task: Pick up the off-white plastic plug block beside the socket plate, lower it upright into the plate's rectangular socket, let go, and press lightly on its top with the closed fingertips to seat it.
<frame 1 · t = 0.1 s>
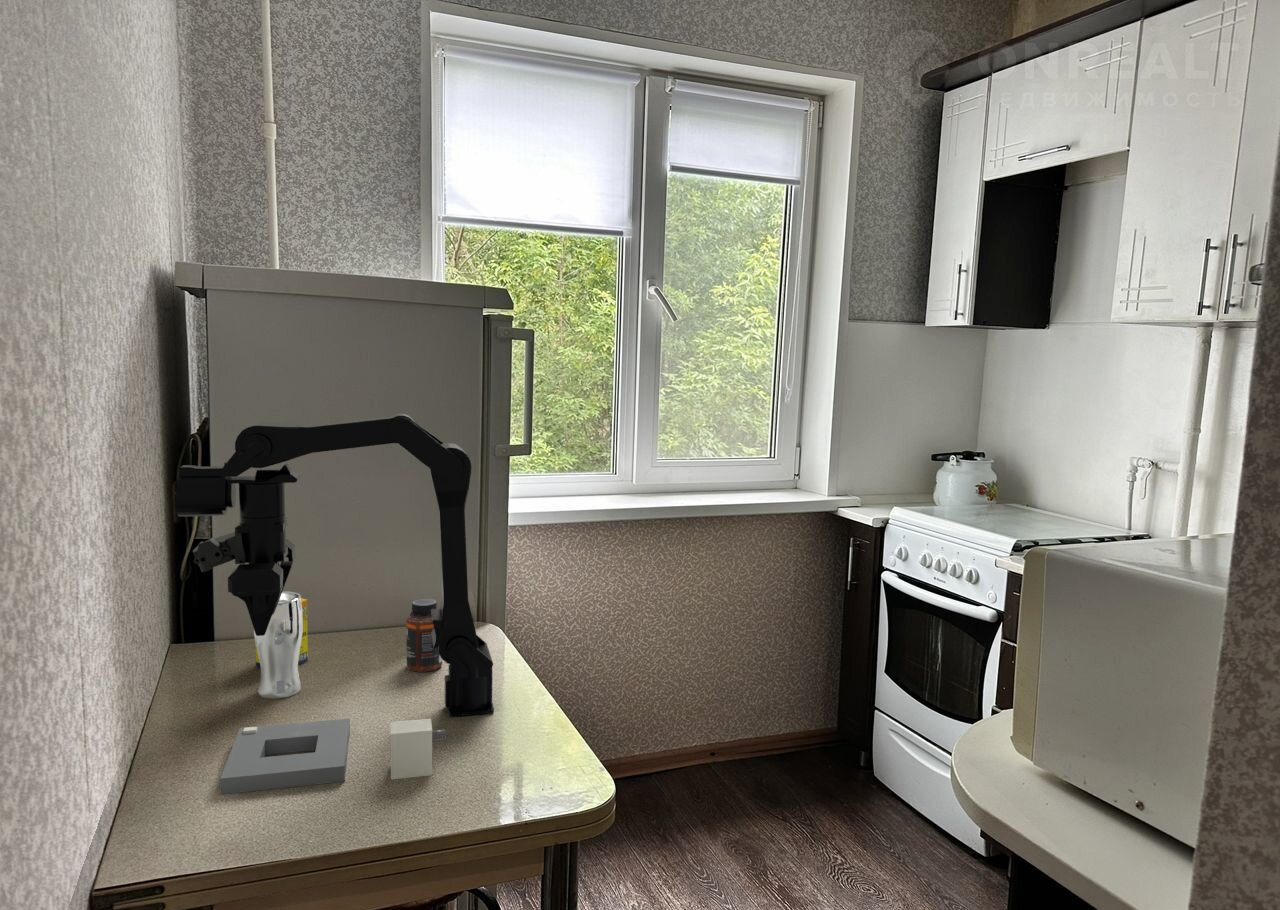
hand: (265, 624, 118), 15 cm above the table, fingers open, 9 cm apart
beer glass: (280, 692, 132), on the table
plug: (411, 770, 108), on the table
supplement box: (282, 665, 143), on the table
socket plate: (290, 760, 110), on the table
supplement bottle: (424, 667, 144), on the table
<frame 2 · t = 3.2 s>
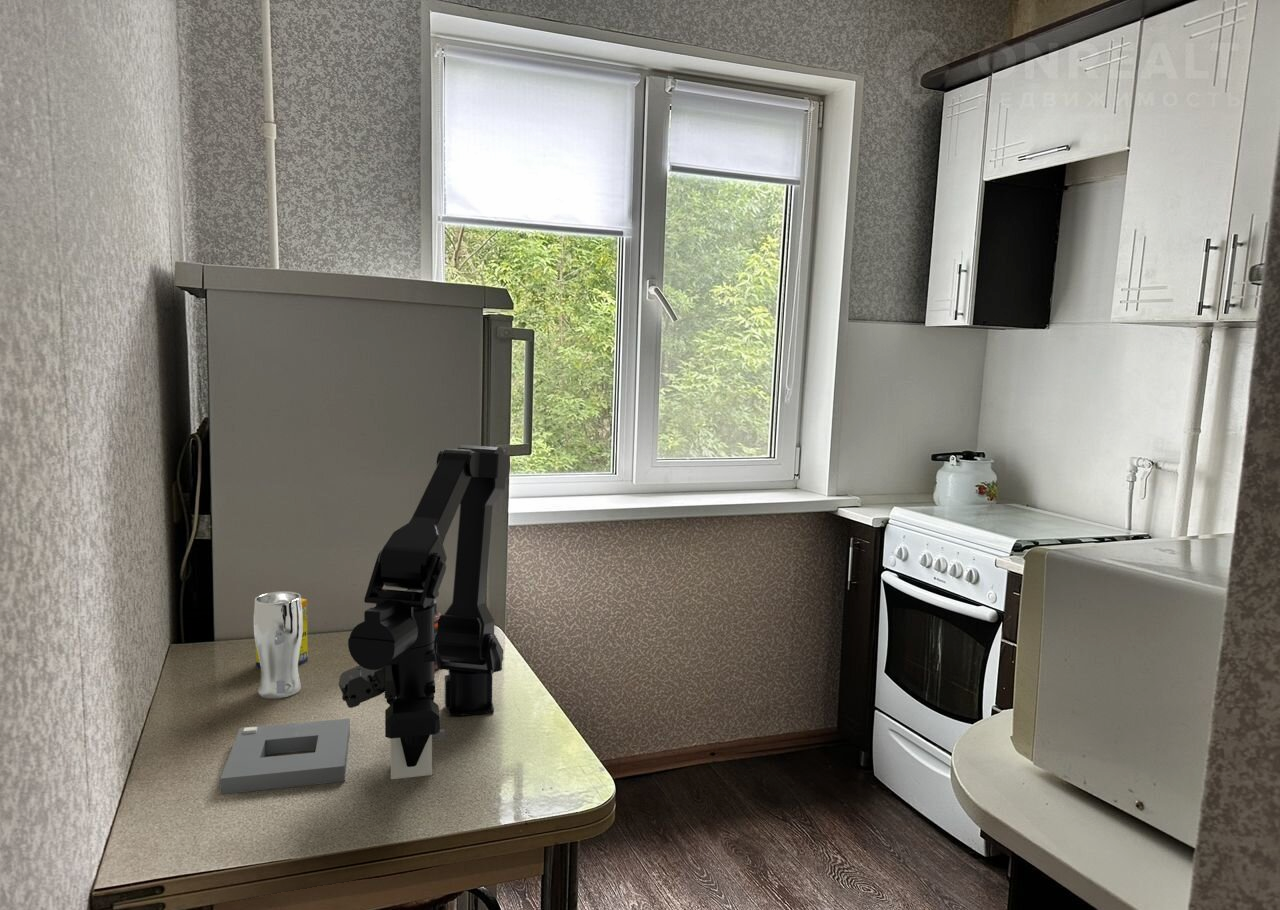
hand: (411, 759, 108), 2 cm above the table, fingers closed on plug, 3 cm apart
plug: (411, 770, 108), on the table, touching gripper
everything else where it was.
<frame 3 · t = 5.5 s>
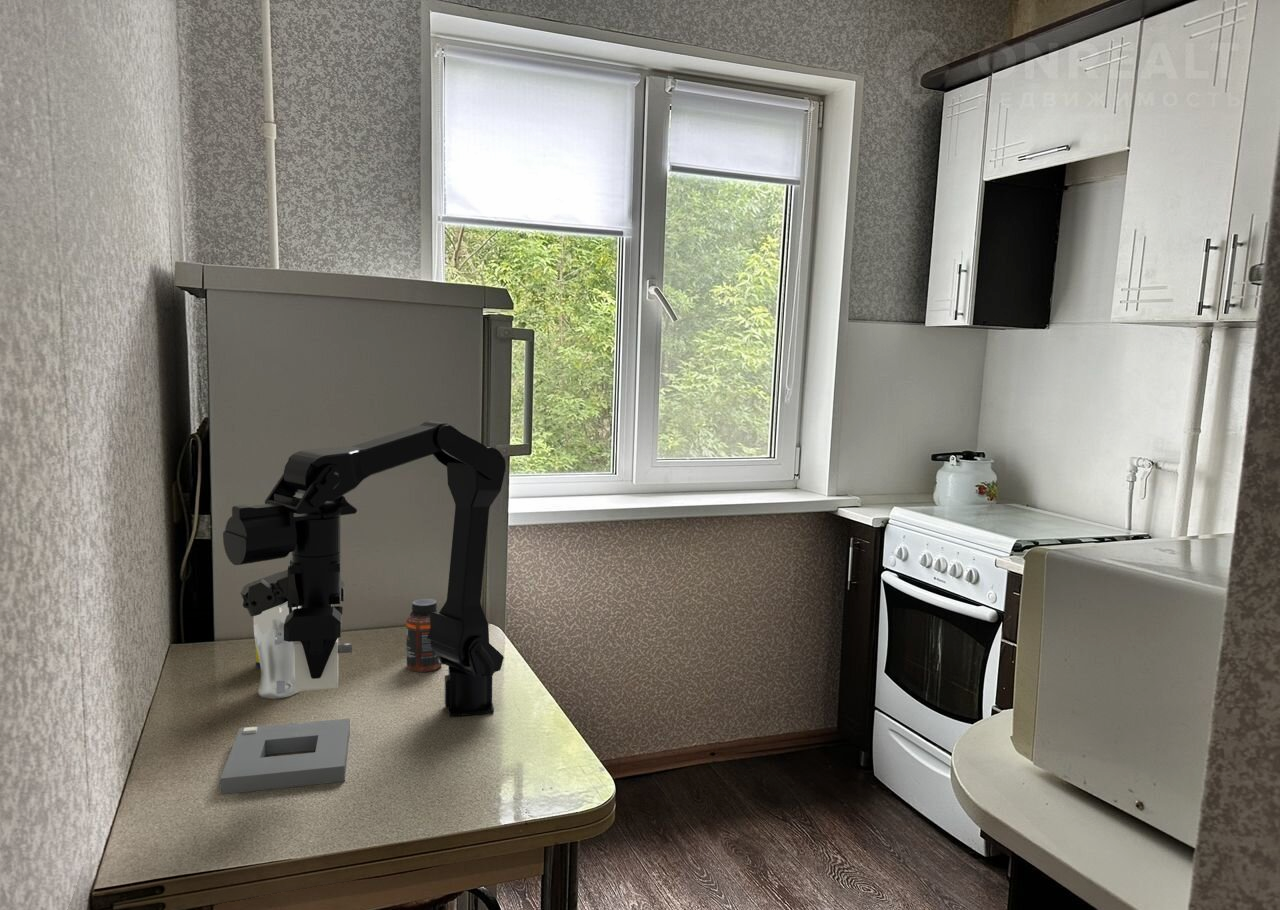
hand: (316, 672, 108), 12 cm above the table, fingers closed on plug, 3 cm apart
plug: (317, 684, 108), point 11 cm above the table, touching gripper
everything else where it was.
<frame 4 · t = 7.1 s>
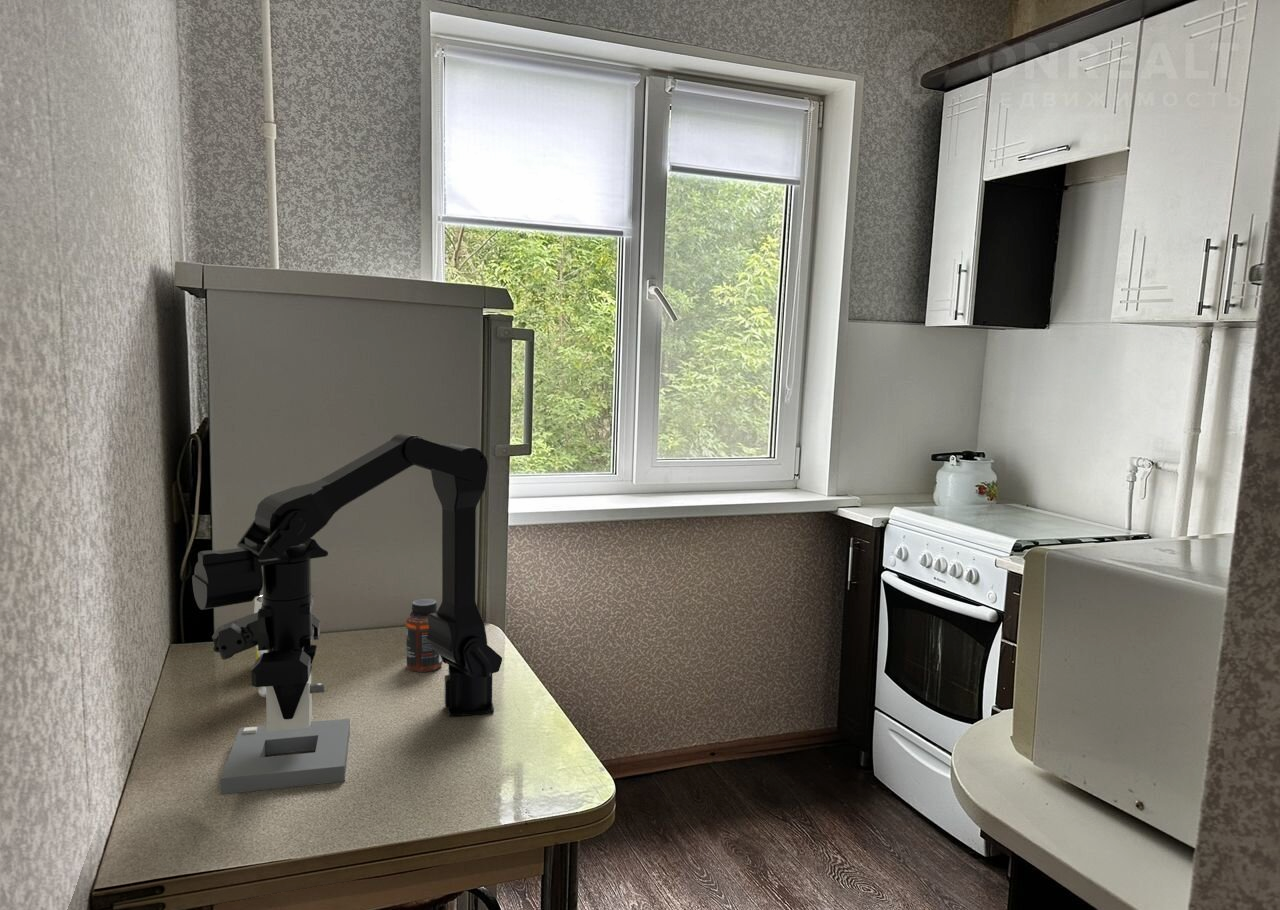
hand: (289, 712, 109), 7 cm above the table, fingers closed on plug, 3 cm apart
plug: (290, 723, 109), point 5 cm above the table, touching gripper
everything else where it was.
when the fingers open (3 cm above the table, at t = 8.2 s): plug drops 2 cm, resting in socket plate.
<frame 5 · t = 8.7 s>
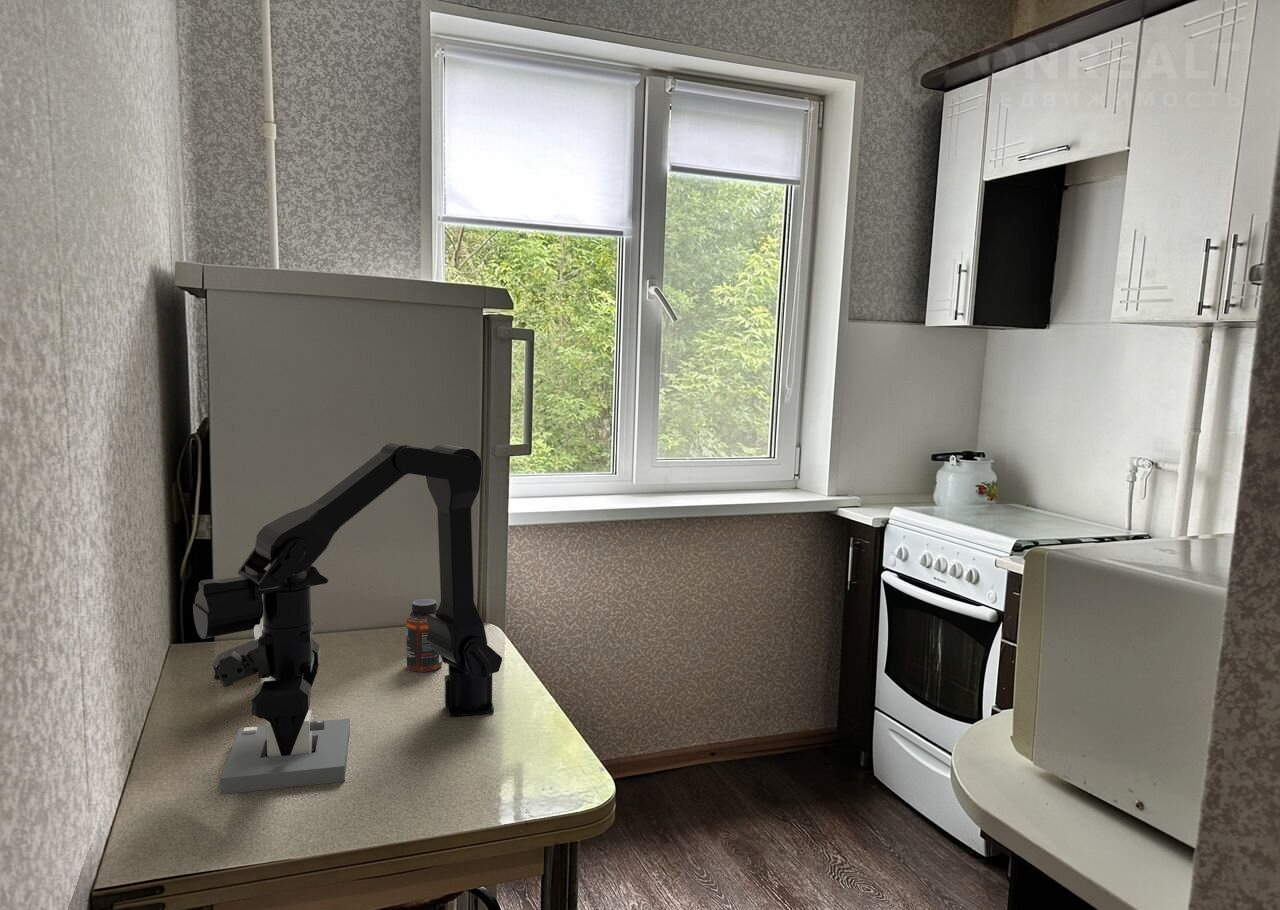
hand: (290, 738, 110), 3 cm above the table, fingers open, 9 cm apart
plug: (290, 761, 110), resting in socket plate
everything else where it was.
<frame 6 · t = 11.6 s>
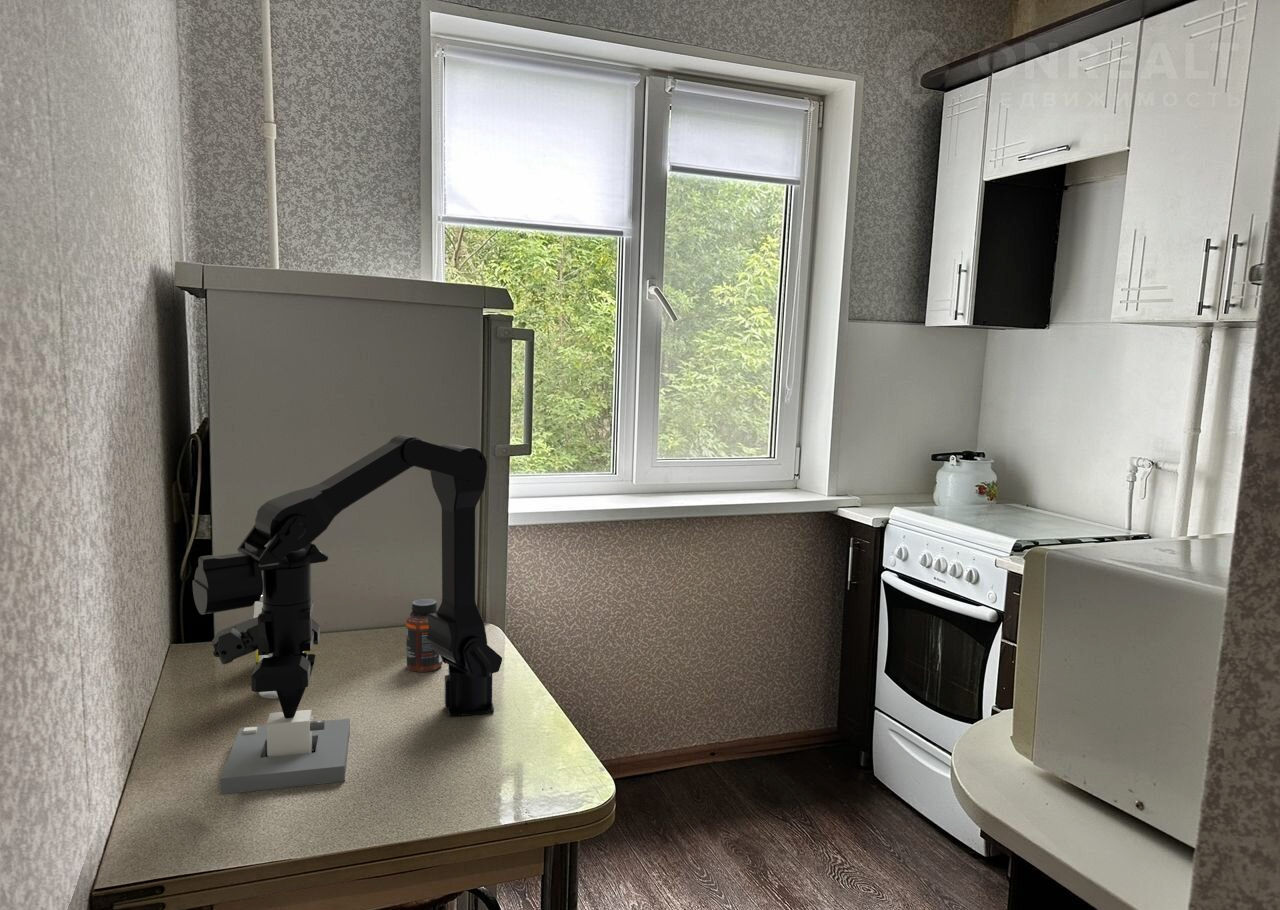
hand: (289, 717, 109), 6 cm above the table, fingers closed, pressing on plug
plug: (290, 761, 110), resting in socket plate, touching gripper
everything else where it was.
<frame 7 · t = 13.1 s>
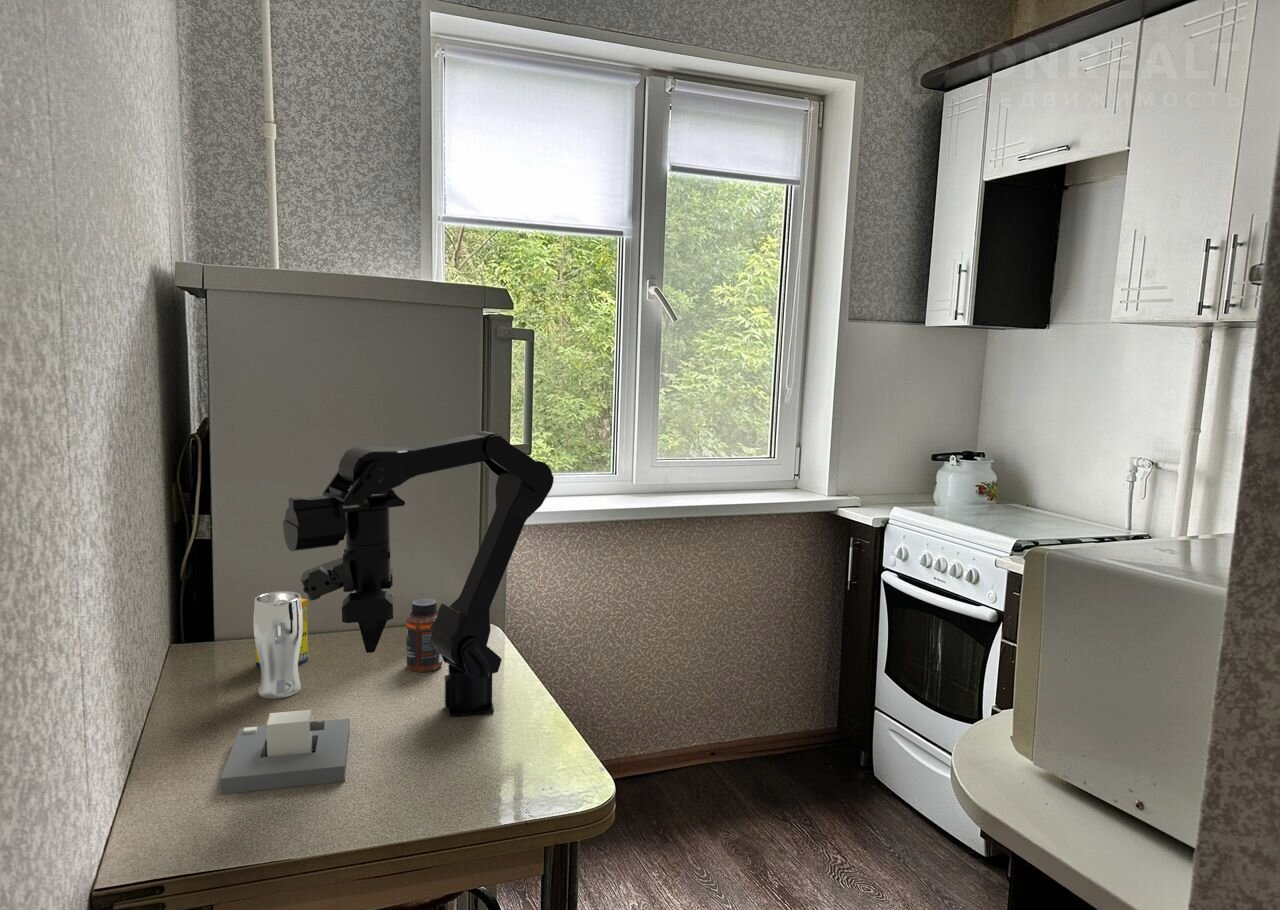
hand: (370, 651, 117), 12 cm above the table, fingers closed
plug: (290, 761, 110), resting in socket plate
everything else where it was.
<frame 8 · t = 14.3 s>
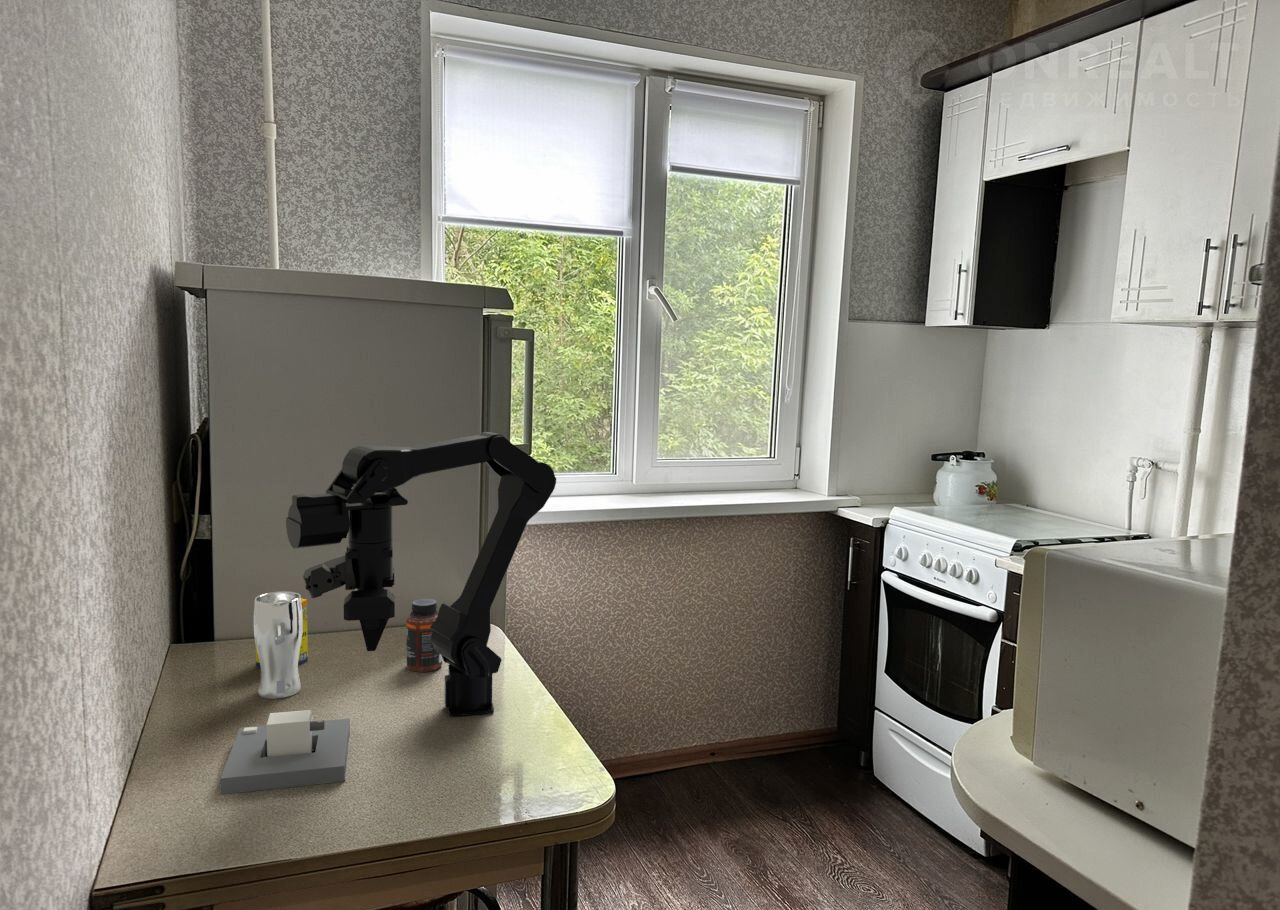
hand: (371, 650, 117), 12 cm above the table, fingers closed
nothing on the table moved.
at the end: plug 0.0 cm off-centre on the socket plate, point 0.0 cm above the socket plate's base; plug tilted 0°; the gripper is holding nothing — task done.
